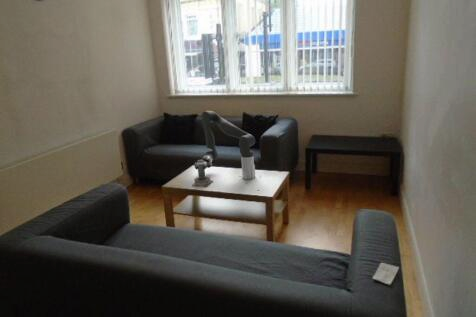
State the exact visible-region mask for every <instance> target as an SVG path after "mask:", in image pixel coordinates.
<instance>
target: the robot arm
mask: <svg viewBox="0 0 476 317" xmlns="http://www.w3.org/2000/svg"><path fill="white" fill-rule="evenodd" d="M201 121H202V125H203V130H204V134H205V136H204V137H205V144H206V146H205V147H206V149H209V150H210V149H211V150H210V151H209V150H206V151H205V152H204V156H203V157H202V158H201V159H200V160H204V166H203V169H205V170H206V169H209V168H211V167H213V161H214V160H218V157H219V154H218V151H217V148H216V142H215V140H216V139H215V136H214V133H213V132H212V129H211V125H210V124H211V123H213V124H215V125H216V126H218V128H219V129H220V131H221V132H222V133H224V134H226V135H227V136H229V137H232V138H236V139H239V141H238V145H239V153H240V156H241V158H240V159H241V173H242V174H241V175H242V179H244V180H253V179H254V178H256V165H255V163H254V158H255V157H254V151H252V150H250V147H252V146H254V145H255V144H256V138H255V136H253V135H252V134H250V133H248V132H246V131H244V130H242V129H241V128H239V127H237V126H236V125H235V124H233V123H232V122H230V121H228V120H227V119H225V118H223V117H221V116H220V115H219V114H218V113H217V112H216V111H213V110H204V111H203V112H202V113H201ZM194 168H195V170H198V165H197V161H196V162H194Z"/></svg>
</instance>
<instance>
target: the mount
mask: <svg viewBox="0 0 476 317" xmlns="http://www.w3.org/2000/svg"><path fill="white" fill-rule="evenodd" d="M212 183H214V180H211V178H210V177H209V176H206V175H205V177H198V176H197V177H195V178H194V182H193V183H192V184H191V187H199V188H207V187H209V186H210V185H211V184H212Z"/></svg>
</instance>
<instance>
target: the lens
mask: <svg viewBox="0 0 476 317" xmlns="http://www.w3.org/2000/svg"><path fill="white" fill-rule="evenodd" d="M196 163H197V165H198V169H197V177H205V176H206V169H203V166H204V160H201V159H198V160H197V161H196Z"/></svg>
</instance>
